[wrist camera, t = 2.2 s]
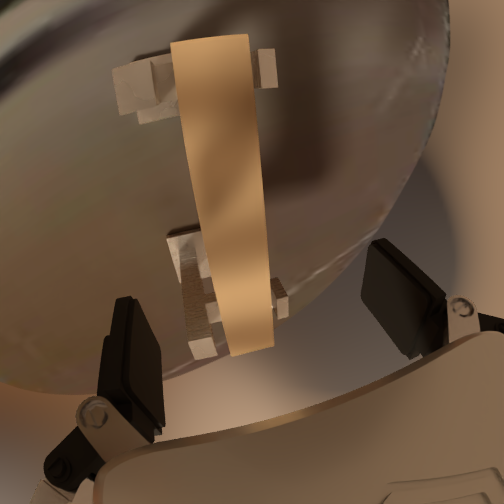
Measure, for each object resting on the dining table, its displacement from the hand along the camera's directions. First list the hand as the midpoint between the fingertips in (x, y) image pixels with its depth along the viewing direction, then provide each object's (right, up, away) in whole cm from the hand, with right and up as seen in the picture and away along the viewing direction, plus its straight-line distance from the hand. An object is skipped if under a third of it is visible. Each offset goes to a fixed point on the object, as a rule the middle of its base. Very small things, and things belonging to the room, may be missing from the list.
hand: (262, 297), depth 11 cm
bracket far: (-4, +2, +16) cm, 16 cm away
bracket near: (-5, +14, +7) cm, 17 cm away
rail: (-2, +4, +5) cm, 7 cm away
